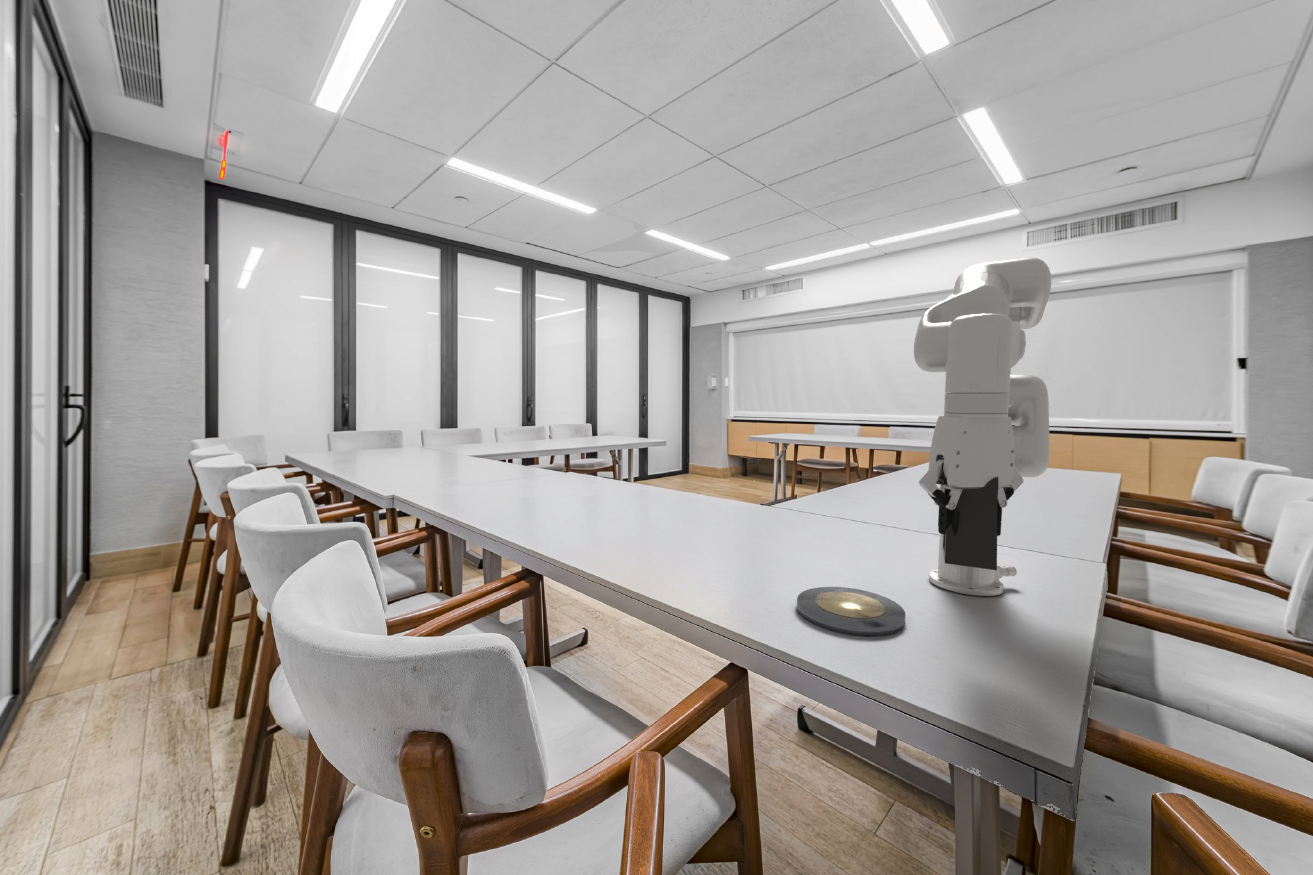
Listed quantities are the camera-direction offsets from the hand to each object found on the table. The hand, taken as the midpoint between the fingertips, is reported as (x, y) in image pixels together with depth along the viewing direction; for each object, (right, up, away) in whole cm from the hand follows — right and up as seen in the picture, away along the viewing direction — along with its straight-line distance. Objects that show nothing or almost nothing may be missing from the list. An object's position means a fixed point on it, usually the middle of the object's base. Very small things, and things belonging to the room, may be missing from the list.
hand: (968, 533), depth 72 cm
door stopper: (0, -4, 0) cm, 4 cm away
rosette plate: (-12, -16, +14) cm, 24 cm away
